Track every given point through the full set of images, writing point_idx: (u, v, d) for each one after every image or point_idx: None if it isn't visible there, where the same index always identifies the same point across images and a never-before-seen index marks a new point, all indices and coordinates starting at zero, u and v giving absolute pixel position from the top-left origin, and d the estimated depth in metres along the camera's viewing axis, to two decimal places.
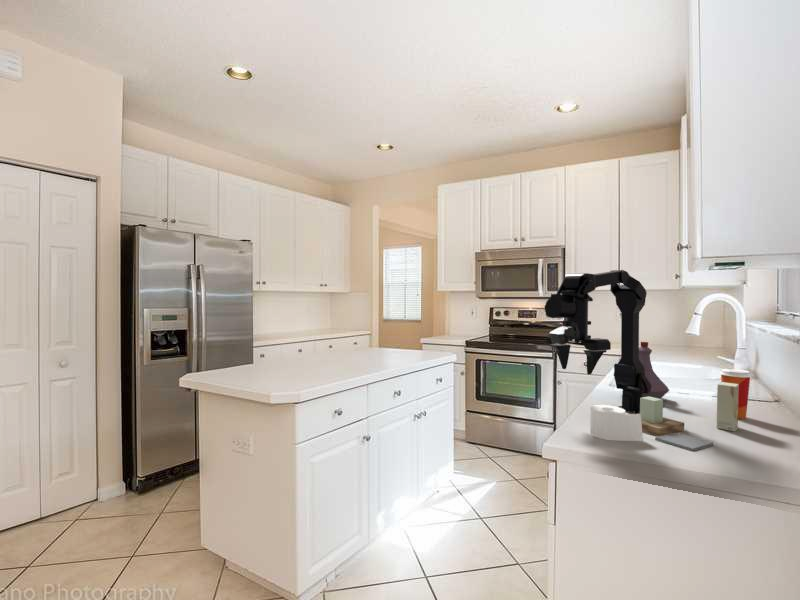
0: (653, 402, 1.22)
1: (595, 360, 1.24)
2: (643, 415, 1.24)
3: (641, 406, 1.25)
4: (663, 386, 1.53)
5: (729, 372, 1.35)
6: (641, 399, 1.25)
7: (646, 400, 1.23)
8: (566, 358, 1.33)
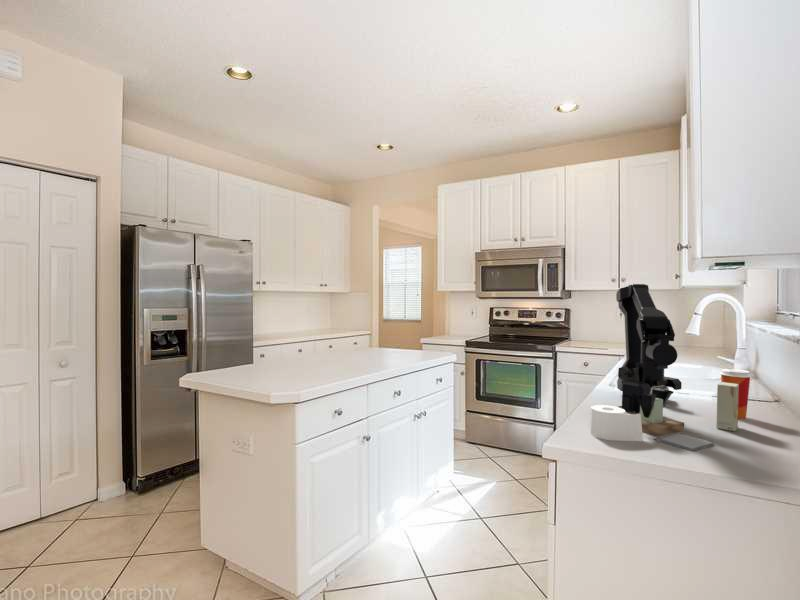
0: None
1: (647, 404, 1.22)
2: (643, 415, 1.24)
3: None
4: None
5: (729, 372, 1.35)
6: None
7: None
8: None
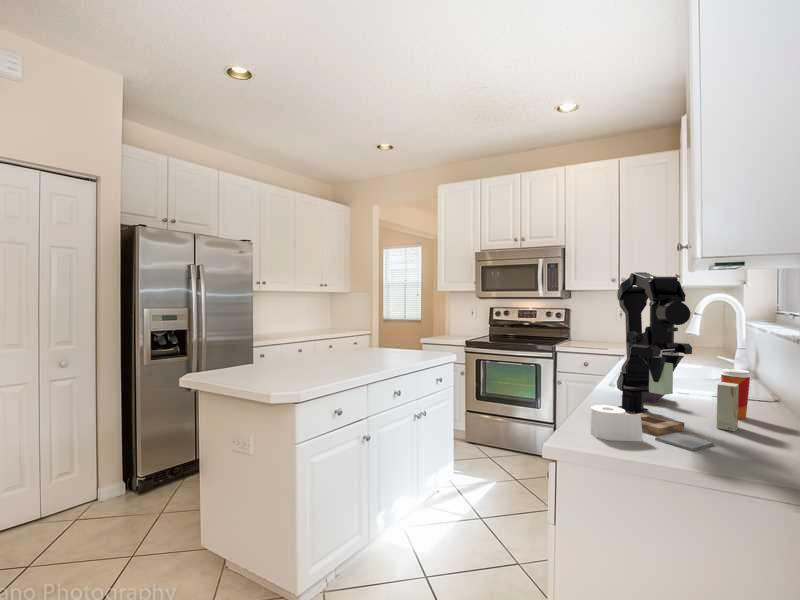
0: None
1: (656, 367, 1.18)
2: (652, 380, 1.20)
3: None
4: None
5: (729, 372, 1.35)
6: None
7: None
8: None
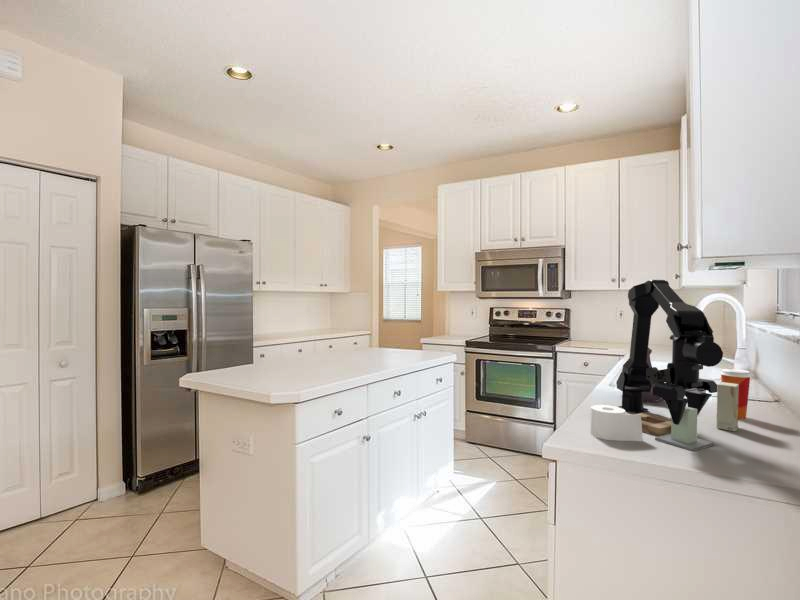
0: (687, 412, 1.09)
1: (677, 409, 1.09)
2: (675, 426, 1.12)
3: None
4: None
5: (729, 372, 1.35)
6: None
7: None
8: None
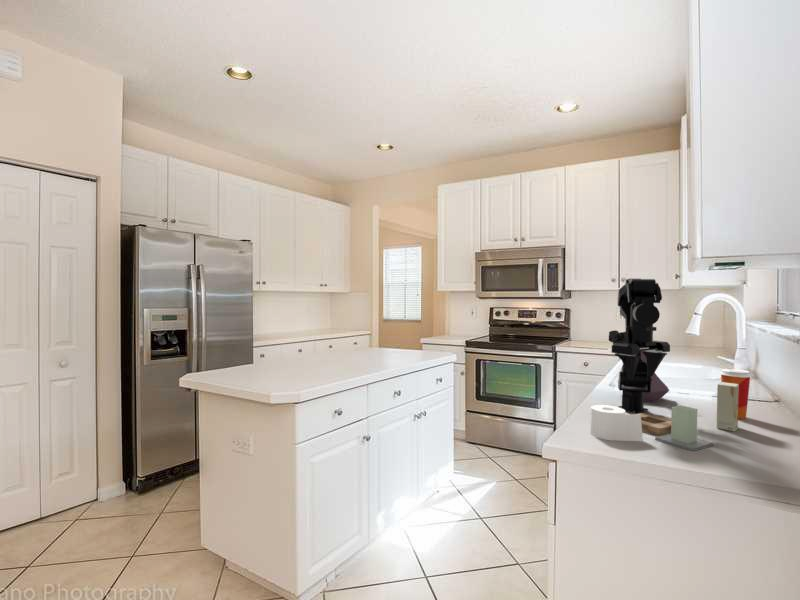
0: (687, 412, 1.09)
1: (630, 365, 1.24)
2: (675, 426, 1.12)
3: (672, 416, 1.12)
4: (663, 386, 1.53)
5: (729, 372, 1.35)
6: (673, 408, 1.12)
7: (679, 410, 1.11)
8: (653, 366, 1.29)
